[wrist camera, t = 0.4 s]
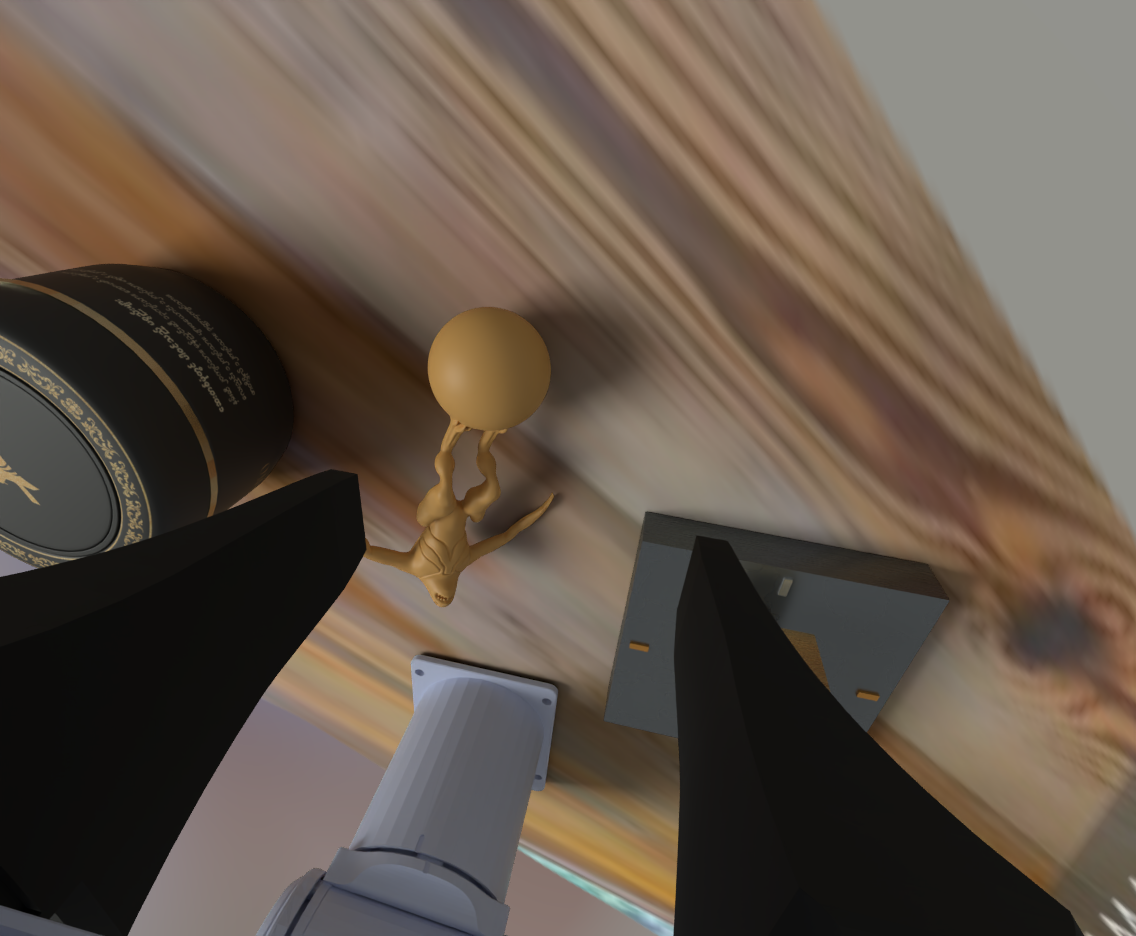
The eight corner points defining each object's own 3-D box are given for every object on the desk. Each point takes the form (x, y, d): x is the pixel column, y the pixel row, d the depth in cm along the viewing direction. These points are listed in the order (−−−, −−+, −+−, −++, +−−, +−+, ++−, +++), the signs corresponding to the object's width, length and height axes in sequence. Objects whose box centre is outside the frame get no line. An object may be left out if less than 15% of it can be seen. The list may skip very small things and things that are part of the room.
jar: (225, 510, 27) (76, 624, 20) (49, 339, 23) (-196, 409, 17) (356, 417, 22) (222, 522, 16) (165, 194, 19) (-101, 212, 13)
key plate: (829, 735, 26) (840, 777, 25) (608, 686, 28) (603, 722, 26) (927, 564, 21) (950, 602, 19) (645, 511, 22) (642, 542, 20)
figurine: (637, 332, 18) (575, 640, 21) (548, 312, 23) (510, 567, 26) (378, 291, 13) (353, 691, 17) (335, 278, 18) (323, 592, 22)
